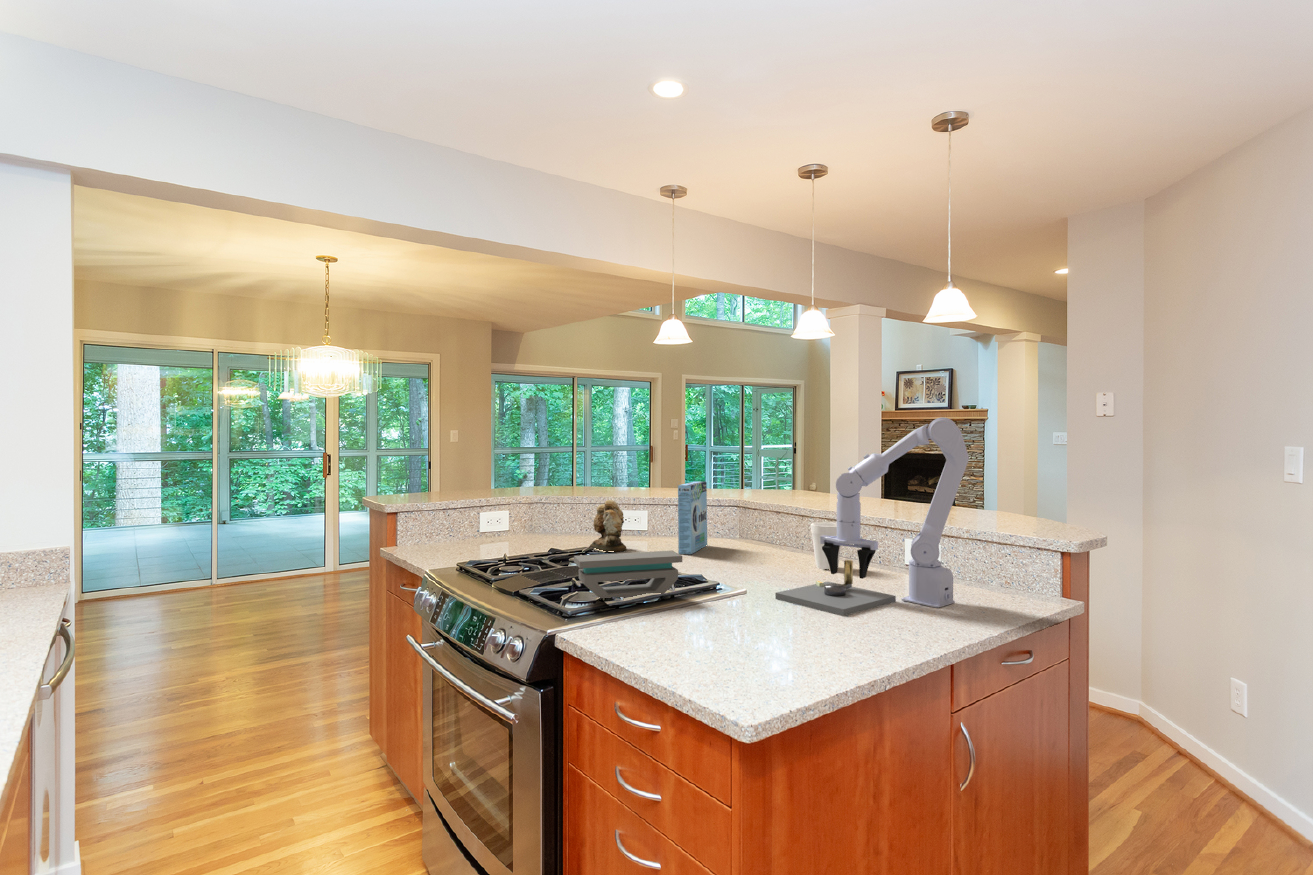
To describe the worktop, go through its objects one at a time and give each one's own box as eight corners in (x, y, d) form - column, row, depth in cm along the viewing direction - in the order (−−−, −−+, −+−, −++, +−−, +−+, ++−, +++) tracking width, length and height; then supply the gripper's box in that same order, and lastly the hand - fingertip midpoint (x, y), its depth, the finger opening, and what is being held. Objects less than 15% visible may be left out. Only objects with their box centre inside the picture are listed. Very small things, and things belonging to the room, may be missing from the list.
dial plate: (895, 601, 166) (895, 592, 166) (843, 615, 154) (843, 605, 153) (827, 587, 182) (827, 578, 182) (775, 598, 169) (775, 589, 169)
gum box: (691, 554, 229) (691, 485, 229) (677, 554, 231) (676, 485, 230) (707, 545, 247) (707, 481, 247) (694, 544, 249) (694, 480, 249)
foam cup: (807, 569, 205) (806, 525, 204) (815, 564, 213) (815, 521, 213) (839, 572, 200) (839, 527, 200) (846, 566, 208) (846, 523, 208)
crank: (839, 597, 164) (839, 567, 164) (820, 593, 167) (820, 564, 167) (859, 589, 172) (859, 561, 172) (841, 586, 175) (841, 558, 175)
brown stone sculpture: (582, 546, 246) (582, 498, 246) (612, 544, 252) (612, 497, 252) (601, 554, 230) (601, 502, 230) (633, 551, 236) (634, 501, 236)
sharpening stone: (672, 593, 175) (672, 550, 175) (682, 600, 168) (682, 555, 168) (574, 600, 168) (573, 555, 168) (579, 608, 161) (579, 561, 161)
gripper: (814, 519, 174) (814, 573, 175) (869, 525, 165) (868, 582, 165) (827, 517, 180) (827, 569, 180) (881, 522, 170) (881, 577, 170)
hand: (848, 575), depth 173 cm, fingers open, 7 cm apart
